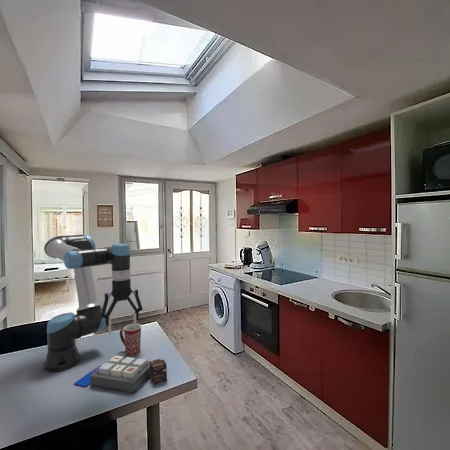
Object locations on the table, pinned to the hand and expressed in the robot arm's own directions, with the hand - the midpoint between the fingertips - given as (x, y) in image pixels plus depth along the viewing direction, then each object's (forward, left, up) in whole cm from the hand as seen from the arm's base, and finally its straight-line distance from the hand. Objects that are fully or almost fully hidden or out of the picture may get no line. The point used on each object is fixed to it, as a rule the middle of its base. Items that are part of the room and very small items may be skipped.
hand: (122, 329), depth 115 cm
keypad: (0, 0, -22) cm, 22 cm away
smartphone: (-15, -2, -22) cm, 27 cm away
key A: (-6, +3, -18) cm, 19 cm away
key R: (0, +3, -18) cm, 18 cm away
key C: (+6, -3, -18) cm, 19 cm away
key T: (0, -3, -18) cm, 18 cm away
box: (+15, +3, -22) cm, 27 cm away
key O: (-6, -3, -18) cm, 19 cm away
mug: (-12, +22, -22) cm, 33 cm away
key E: (+6, +3, -18) cm, 19 cm away
